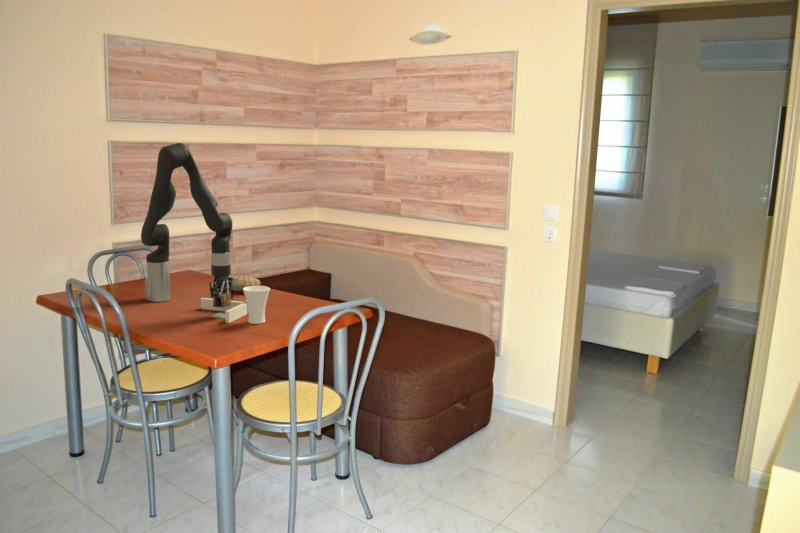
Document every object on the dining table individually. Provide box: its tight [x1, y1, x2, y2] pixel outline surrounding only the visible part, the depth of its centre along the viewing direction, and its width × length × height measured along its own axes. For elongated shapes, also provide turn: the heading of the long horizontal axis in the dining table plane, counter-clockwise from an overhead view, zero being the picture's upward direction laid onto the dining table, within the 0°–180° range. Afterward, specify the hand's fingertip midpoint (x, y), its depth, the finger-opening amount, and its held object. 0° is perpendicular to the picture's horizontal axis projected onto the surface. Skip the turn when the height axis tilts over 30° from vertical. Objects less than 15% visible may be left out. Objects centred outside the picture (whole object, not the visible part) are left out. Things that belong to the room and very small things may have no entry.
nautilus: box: [228, 274, 262, 293], centre depth 312 cm, size 8×22×15 cm
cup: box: [243, 285, 271, 325], centre depth 259 cm, size 10×10×14 cm
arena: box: [200, 297, 249, 324], centre depth 268 cm, size 22×16×5 cm
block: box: [212, 292, 232, 308], centre depth 266 cm, size 5×5×5 cm
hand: (221, 304), depth 267 cm, fingers closed on block, 5 cm apart
